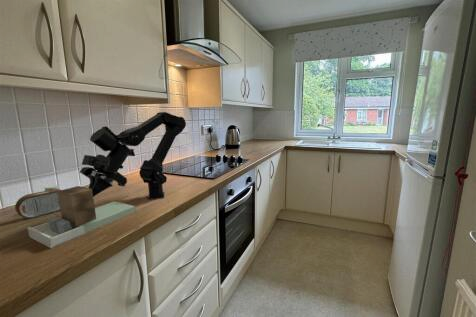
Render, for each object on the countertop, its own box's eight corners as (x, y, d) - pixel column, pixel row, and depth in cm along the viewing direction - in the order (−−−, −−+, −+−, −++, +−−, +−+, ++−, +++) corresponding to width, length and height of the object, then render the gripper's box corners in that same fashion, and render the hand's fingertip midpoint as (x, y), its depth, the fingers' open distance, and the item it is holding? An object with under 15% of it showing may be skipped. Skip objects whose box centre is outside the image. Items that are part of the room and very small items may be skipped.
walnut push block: (82, 214, 80) (78, 186, 78) (96, 219, 76) (91, 189, 74) (62, 221, 74) (57, 191, 73) (76, 226, 71) (70, 194, 69)
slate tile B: (55, 215, 73) (47, 219, 71) (61, 218, 71) (54, 221, 69) (58, 227, 74) (51, 230, 72) (65, 230, 72) (58, 233, 70)
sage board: (115, 206, 92) (114, 201, 91) (135, 211, 86) (134, 206, 86) (63, 225, 76) (62, 219, 76) (83, 233, 71) (82, 227, 70)
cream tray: (62, 224, 77) (60, 216, 76) (84, 233, 70) (83, 224, 70) (29, 236, 69) (27, 227, 69) (50, 248, 63) (48, 237, 62)
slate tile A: (62, 218, 70) (55, 222, 69) (69, 221, 69) (61, 225, 67) (66, 230, 72) (59, 234, 70) (73, 233, 70) (65, 237, 68)
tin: (68, 206, 93) (65, 186, 91) (71, 208, 91) (67, 187, 89) (17, 220, 82) (12, 197, 80) (19, 222, 80) (14, 198, 78)
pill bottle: (47, 206, 93) (43, 186, 92) (61, 203, 96) (58, 183, 95) (47, 210, 90) (43, 189, 88) (62, 207, 93) (59, 186, 91)
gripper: (81, 144, 83) (50, 182, 75) (114, 146, 74) (81, 190, 66) (106, 162, 91) (80, 198, 84) (138, 166, 82) (112, 207, 74)
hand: (87, 198), depth 77 cm, fingers closed
